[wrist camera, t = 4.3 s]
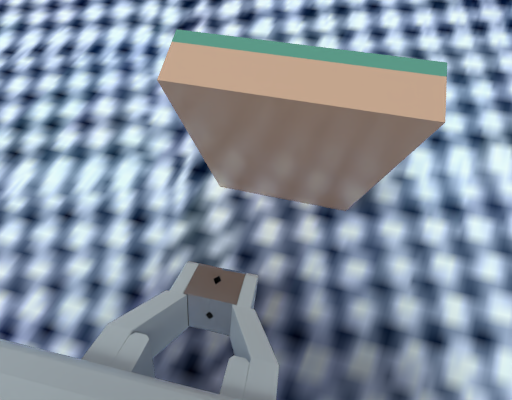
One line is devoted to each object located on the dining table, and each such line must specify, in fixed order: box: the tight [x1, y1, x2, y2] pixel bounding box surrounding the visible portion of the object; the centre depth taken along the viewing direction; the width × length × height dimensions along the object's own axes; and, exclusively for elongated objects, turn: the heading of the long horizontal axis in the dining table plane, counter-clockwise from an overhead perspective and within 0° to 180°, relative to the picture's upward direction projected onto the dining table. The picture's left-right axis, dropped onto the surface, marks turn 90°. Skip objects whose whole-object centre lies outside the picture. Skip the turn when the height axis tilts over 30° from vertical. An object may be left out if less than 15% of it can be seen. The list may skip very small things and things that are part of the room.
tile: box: [157, 30, 447, 211], centre depth 15 cm, size 2×10×12 cm, turn 77°
